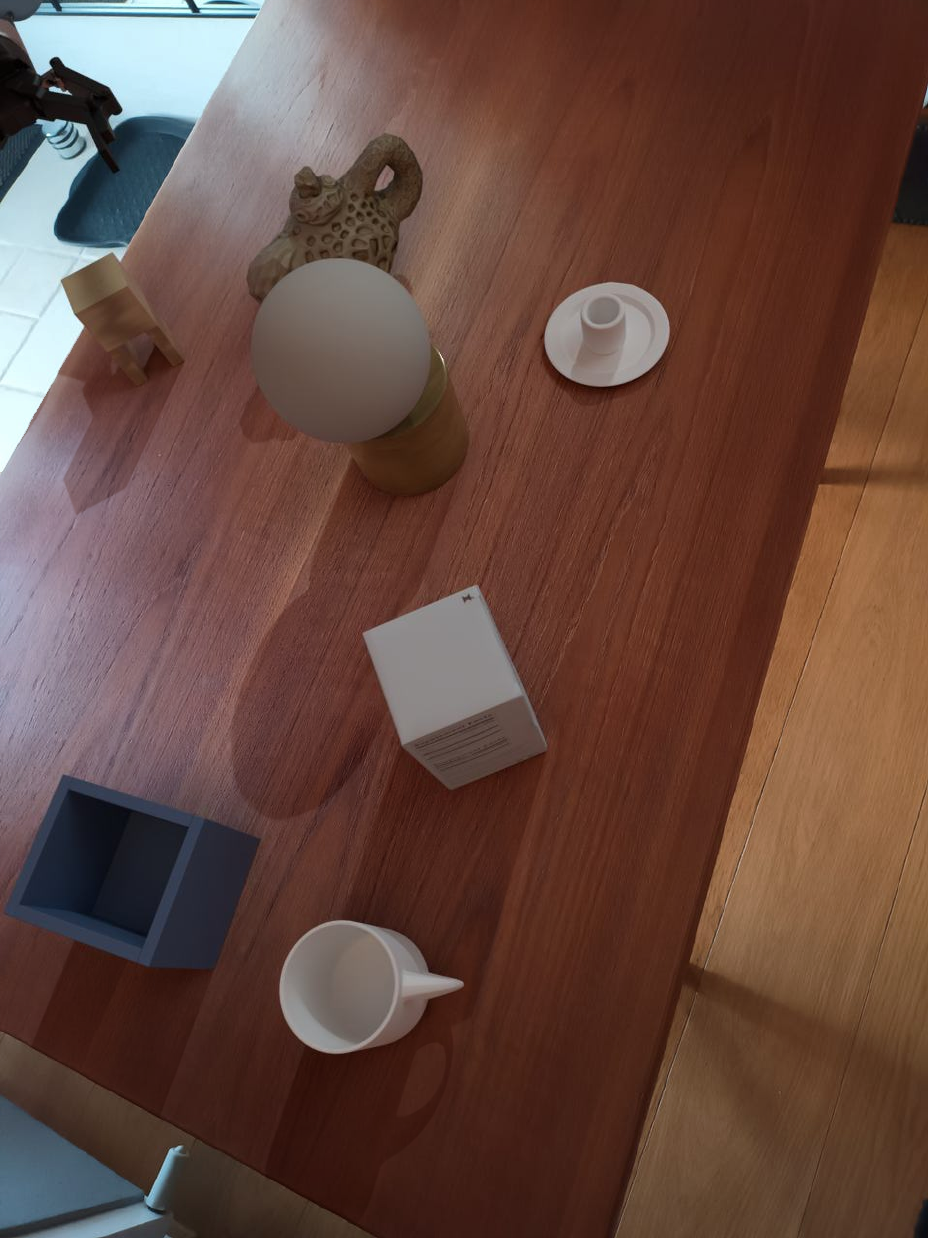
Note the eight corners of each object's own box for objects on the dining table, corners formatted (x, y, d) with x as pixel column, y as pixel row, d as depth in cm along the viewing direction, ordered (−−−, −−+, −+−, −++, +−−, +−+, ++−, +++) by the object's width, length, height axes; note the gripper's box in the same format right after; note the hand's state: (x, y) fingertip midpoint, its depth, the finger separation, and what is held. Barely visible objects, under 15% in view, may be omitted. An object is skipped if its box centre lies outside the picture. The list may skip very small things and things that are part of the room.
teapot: (308, 374, 98) (251, 274, 85) (248, 312, 103) (185, 207, 89) (466, 248, 100) (435, 131, 86) (400, 193, 105) (361, 73, 91)
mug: (475, 1046, 73) (446, 1056, 63) (324, 1044, 75) (274, 1053, 65) (475, 928, 76) (448, 919, 66) (330, 929, 78) (283, 920, 68)
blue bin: (83, 922, 82) (2, 913, 72) (133, 799, 85) (62, 773, 75) (214, 969, 78) (148, 967, 68) (261, 838, 82) (205, 818, 71)
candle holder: (620, 267, 96) (619, 236, 92) (695, 344, 91) (696, 314, 87) (521, 332, 95) (515, 304, 91) (591, 412, 90) (588, 386, 86)
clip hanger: (137, 386, 102) (74, 314, 91) (123, 354, 104) (60, 279, 93) (184, 361, 102) (127, 285, 91) (170, 329, 104) (112, 251, 93)
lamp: (418, 555, 88) (333, 405, 65) (301, 494, 93) (184, 334, 70) (503, 427, 92) (451, 241, 69) (386, 375, 96) (300, 184, 73)
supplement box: (412, 694, 84) (356, 627, 68) (509, 653, 83) (475, 577, 68) (449, 795, 80) (399, 748, 64) (551, 752, 79) (525, 695, 64)
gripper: (117, 45, 105) (178, 163, 97) (-82, 153, 105) (-38, 281, 97) (79, -21, 98) (141, 101, 90) (-134, 95, 98) (-92, 227, 90)
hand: (48, 194), depth 93 cm, fingers open, 13 cm apart
